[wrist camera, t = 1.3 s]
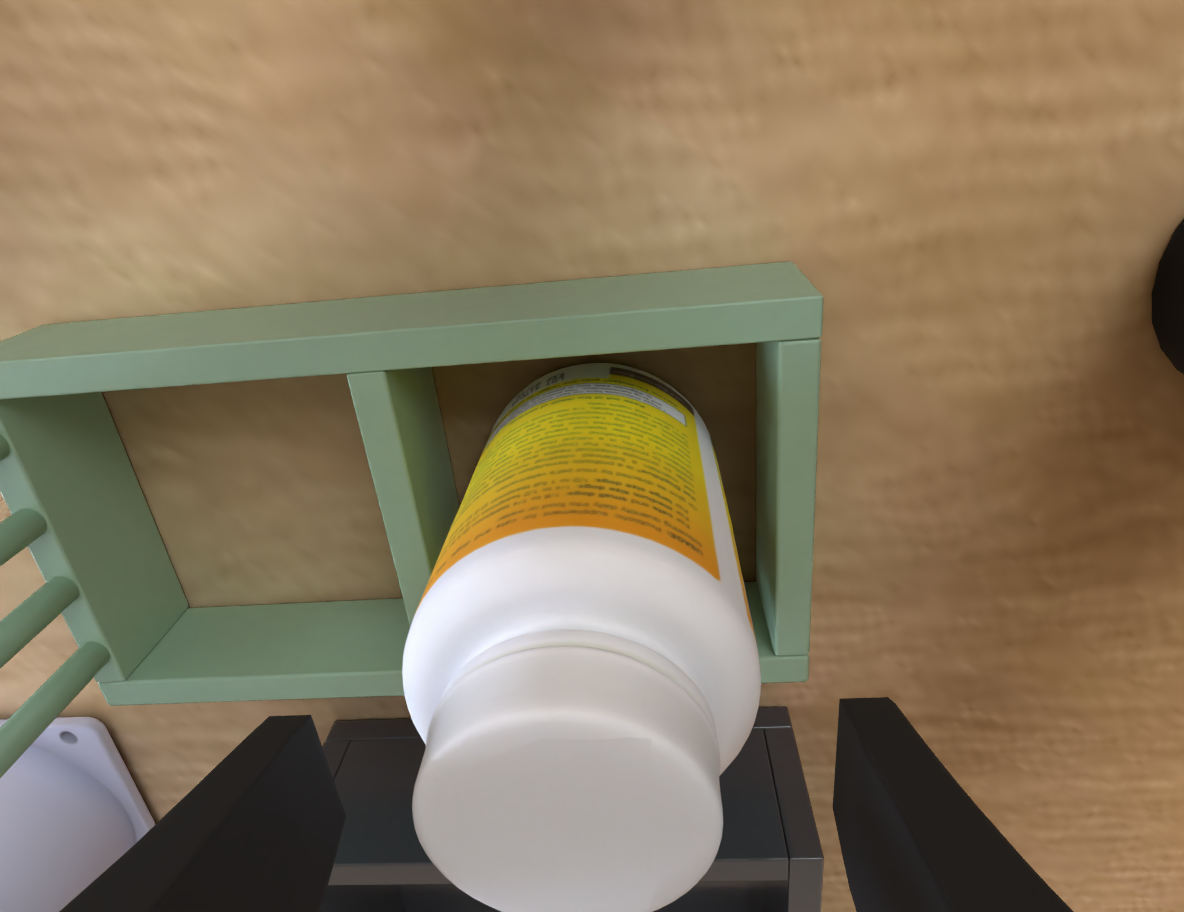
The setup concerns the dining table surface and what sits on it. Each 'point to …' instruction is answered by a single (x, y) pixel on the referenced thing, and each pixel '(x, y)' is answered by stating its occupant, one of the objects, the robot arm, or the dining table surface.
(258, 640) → the dish rack
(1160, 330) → the cup
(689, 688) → the supplement bottle
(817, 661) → the dining table surface
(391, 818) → the dark grey storage bin
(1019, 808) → the dining table surface
